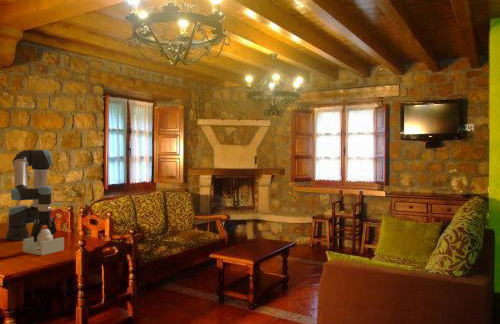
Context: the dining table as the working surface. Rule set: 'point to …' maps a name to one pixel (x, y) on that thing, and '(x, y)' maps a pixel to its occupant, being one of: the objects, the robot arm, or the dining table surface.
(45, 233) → the figurine
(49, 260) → the dining table surface
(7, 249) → the dining table surface
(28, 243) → the beige open frame
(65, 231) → the dining table surface
